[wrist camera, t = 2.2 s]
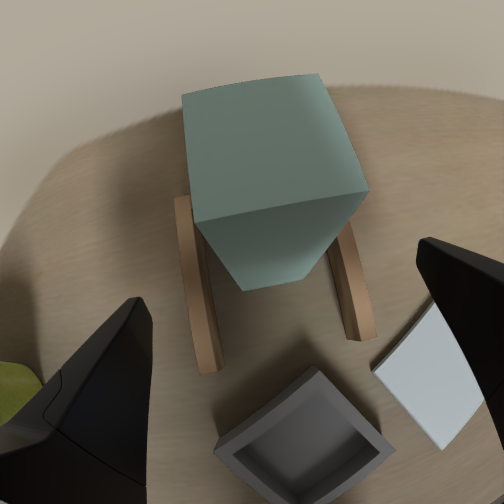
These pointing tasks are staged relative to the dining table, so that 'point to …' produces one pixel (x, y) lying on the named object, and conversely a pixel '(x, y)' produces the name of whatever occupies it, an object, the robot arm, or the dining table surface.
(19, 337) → the dining table surface
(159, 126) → the dining table surface
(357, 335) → the walled lane
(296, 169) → the block
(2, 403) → the plant pot
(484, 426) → the dining table surface
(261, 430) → the box
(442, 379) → the pad
